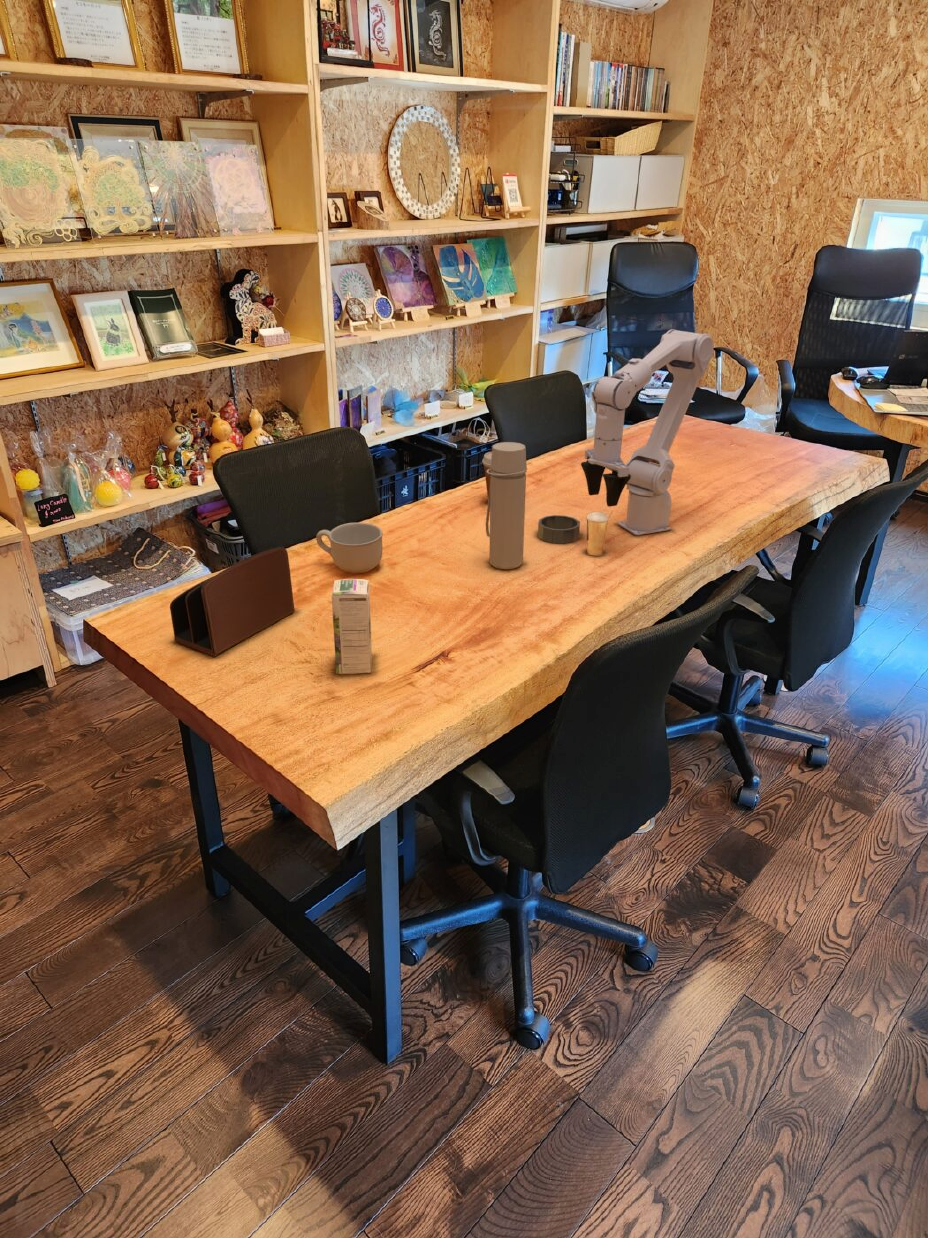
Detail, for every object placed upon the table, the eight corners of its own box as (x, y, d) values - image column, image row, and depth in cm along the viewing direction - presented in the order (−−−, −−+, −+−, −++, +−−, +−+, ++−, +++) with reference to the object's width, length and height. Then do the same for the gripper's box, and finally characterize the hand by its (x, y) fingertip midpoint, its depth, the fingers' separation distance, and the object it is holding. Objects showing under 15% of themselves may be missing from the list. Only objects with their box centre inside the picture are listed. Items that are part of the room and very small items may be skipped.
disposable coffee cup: (526, 500, 207) (528, 453, 202) (507, 511, 200) (509, 463, 195) (494, 493, 212) (494, 447, 206) (474, 504, 205) (474, 457, 199)
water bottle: (531, 563, 173) (536, 446, 161) (507, 574, 168) (510, 454, 156) (498, 551, 179) (500, 437, 167) (473, 562, 173) (474, 445, 162)
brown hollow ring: (566, 526, 192) (567, 513, 190) (586, 539, 184) (587, 526, 183) (531, 531, 189) (531, 518, 187) (549, 545, 181) (550, 532, 180)
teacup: (393, 562, 173) (391, 527, 169) (366, 582, 164) (364, 545, 161) (337, 551, 178) (334, 516, 175) (308, 570, 170) (304, 534, 166)
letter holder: (295, 612, 153) (288, 541, 146) (215, 658, 138) (202, 581, 132) (256, 599, 158) (247, 530, 151) (174, 642, 143) (160, 568, 136)
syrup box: (338, 657, 138) (331, 578, 132) (373, 656, 139) (368, 577, 132) (336, 675, 133) (329, 594, 127) (372, 673, 134) (368, 593, 127)
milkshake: (608, 558, 175) (612, 513, 171) (583, 556, 176) (586, 512, 172) (609, 550, 179) (613, 506, 175) (585, 548, 180) (588, 504, 176)
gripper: (574, 430, 175) (569, 491, 182) (609, 448, 164) (603, 513, 170) (603, 427, 178) (597, 488, 184) (640, 444, 166) (633, 508, 172)
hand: (602, 499), depth 177 cm, fingers open, 7 cm apart
